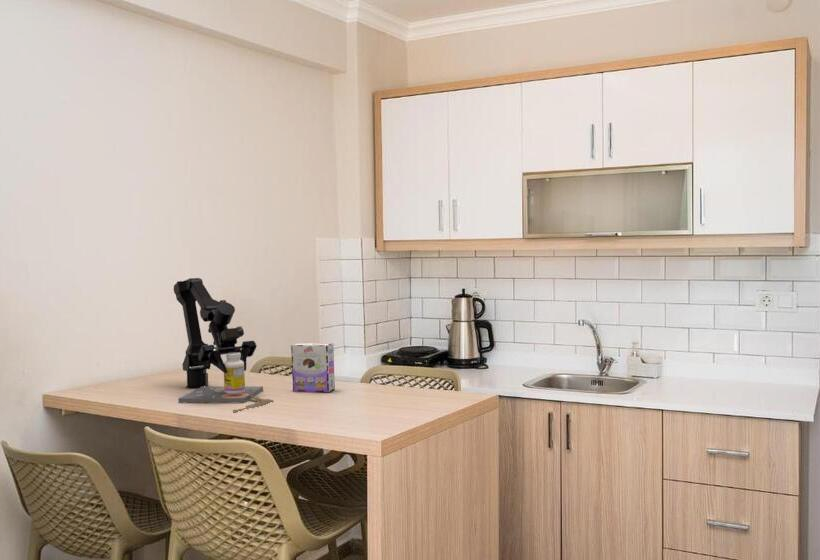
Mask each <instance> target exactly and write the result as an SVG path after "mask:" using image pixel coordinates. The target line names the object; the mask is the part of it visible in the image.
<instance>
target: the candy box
mask: <svg viewBox="0 0 820 560" xmlns="http://www.w3.org/2000/svg"><path fill="white" fill-rule="evenodd" d="M290 349H291V352H290V353H291V371H292V392H297V393H298V392H299V393H300V392H301V393H305V392H306V393H330V392H333V391H335V390H336V384H335V383H336V381H335V380H336V379H335V355H334V343H331V342H328V343H327V342H323V343H322V342H297V343H293V344H291V345H290Z"/></svg>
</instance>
